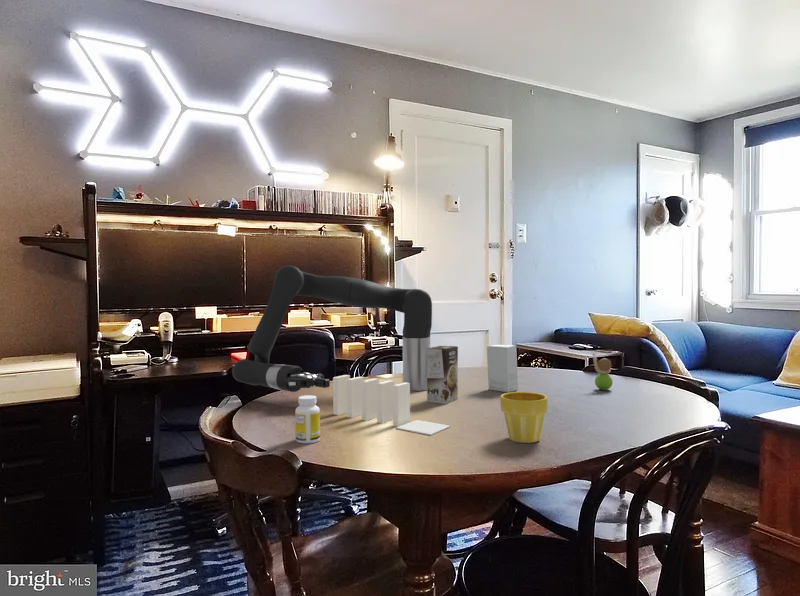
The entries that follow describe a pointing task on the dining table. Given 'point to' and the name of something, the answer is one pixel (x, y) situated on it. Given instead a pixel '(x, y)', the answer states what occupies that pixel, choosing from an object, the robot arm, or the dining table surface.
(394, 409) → the domino
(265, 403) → the dining table surface
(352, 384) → the domino
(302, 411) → the supplement bottle
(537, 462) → the dining table surface
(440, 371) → the coffee box
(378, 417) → the domino
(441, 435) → the dining table surface
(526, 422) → the plant pot
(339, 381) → the domino
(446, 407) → the dining table surface
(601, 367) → the snail figurine
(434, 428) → the felt pad
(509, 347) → the skincare box
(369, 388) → the domino
